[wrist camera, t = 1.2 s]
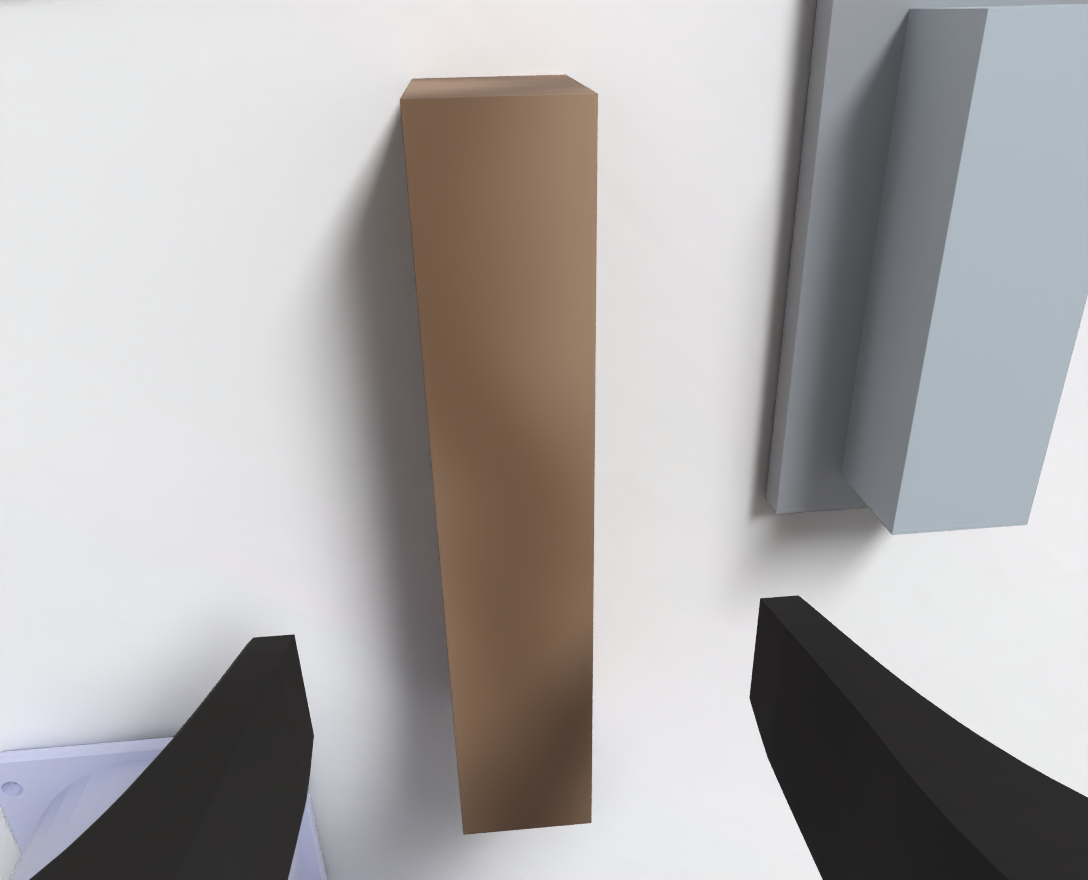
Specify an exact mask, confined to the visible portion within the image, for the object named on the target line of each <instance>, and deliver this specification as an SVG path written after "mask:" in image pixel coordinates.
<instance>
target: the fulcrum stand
mask: <svg viewBox="0 0 1088 880" xmlns="http://www.w3.org/2000/svg"><path fill="white" fill-rule="evenodd" d="M1087 295H1088V0H817V8H816V18H815V27H814V37H813V46H812V56H811V66H810V75H809V85H808V95H807V104H806V114H805V123H804V133H803V143H802V152H801V162H800V172H799V181H798V191H797V200H796V210H795V220H794V229H793V239H792V249H791V258H790V268H789V277H788V287H787V297H786V306H785V316H784V326H783V335H782V345H781V355H780V364H779V374H778V383H777V393H776V403H775V412H774V422H773V432H772V441H771V451H770V460H769V470H768V480H767V489H766V499H767V501H768V502H769V504H770V505H771V507H772V508H773V510H774V511H775V513H776V514H784V513H798V512H812V511H826V510H840V509H854V508H868V507H869V508H870V509H871V510H872V511H873V513H874V514H875V515H876V516H877V517H878V519H879V520H880V521H881V522H882V523H883V525H884V526H885V527H886V528H887V529H888V531H889V532H890V533H891V534H892V535H896V534H910V533H923V532H937V531H950V530H963V529H977V528H990V527H1004V526H1017V525H1027V523H1028V519H1029V515H1030V511H1031V508H1032V504H1033V500H1034V496H1035V493H1036V489H1037V485H1038V481H1039V477H1040V474H1041V470H1042V466H1043V462H1044V458H1045V455H1046V451H1047V447H1048V443H1049V439H1050V436H1051V432H1052V428H1053V424H1054V420H1055V417H1056V413H1057V409H1058V405H1059V402H1060V398H1061V394H1062V390H1063V386H1064V383H1065V379H1066V375H1067V371H1068V367H1069V364H1070V360H1071V356H1072V352H1073V348H1074V345H1075V341H1076V337H1077V333H1078V329H1079V326H1080V322H1081V318H1082V314H1083V310H1084V307H1085V303H1086V299H1087Z"/></svg>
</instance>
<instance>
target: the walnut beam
mask: <svg viewBox="0 0 1088 880" xmlns="http://www.w3.org/2000/svg"><path fill="white" fill-rule="evenodd" d="M400 104H401V116H402V127H403V139H404V151H405V162H406V174H407V185H408V197H409V209H410V220H411V232H412V243H413V255H414V266H415V278H416V290H417V301H418V313H419V324H420V336H421V347H422V359H423V371H424V382H425V394H426V405H427V417H428V429H429V440H430V452H431V463H432V475H433V486H434V498H435V510H436V521H437V533H438V544H439V556H440V567H441V579H442V591H443V602H444V614H445V625H446V637H447V649H448V660H449V672H450V683H451V695H452V706H453V718H454V730H455V741H456V753H457V764H458V776H459V787H460V799H461V811H462V822H463V834H464V835H465V834H476V833H487V832H498V831H508V830H519V829H530V828H541V827H552V826H563V825H574V824H585V823H591V803H592V689H593V575H594V461H595V346H596V232H597V118H598V94H597V93H596V92H594V91H592V90H591V89H589V88H587V87H586V86H584V85H582V84H580V83H579V82H577V81H575V80H574V79H572V78H570V77H569V76H567V75H537V76H499V77H461V78H423V79H412V80H411V82H410V83H409V85H408V87H407V88H406V90H405V92H404V93H403V95H402V97H401V98H400Z"/></svg>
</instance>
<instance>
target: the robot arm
mask: <svg viewBox="0 0 1088 880" xmlns="http://www.w3.org/2000/svg"><path fill="white" fill-rule="evenodd" d="M750 701H751V705H752V708H753V711H754V715H755V718H756V722H757V725H758V728H759V732H760V735H761V738H762V741H763V744H764V747H765V750H766V754H767V757H768V759H769V762H770V764H771V766H772V768H773V771H774V773H775V775H776V778H777V780H778V782H779V784H780V786H781V789H782V791H783V793H784V795H785V798H786V800H787V802H788V804H789V807H790V809H791V811H792V813H793V815H794V818H795V820H796V822H797V824H798V826H799V829H800V831H801V833H802V835H803V837H804V840H805V842H806V844H807V846H808V848H809V850H810V853H811V855H812V857H813V859H814V861H815V864H816V866H817V868H818V870H819V872H820V875H821V877H822V879H823V880H1088V797H1086V796H1084V795H1082V794H1080V793H1078V792H1076V791H1074V790H1072V789H1070V788H1069V787H1067V786H1065V785H1063V784H1061V783H1059V782H1057V781H1055V780H1053V779H1052V778H1050V777H1048V776H1046V775H1044V774H1042V773H1041V772H1039V771H1037V770H1035V769H1034V768H1032V767H1030V766H1028V765H1027V764H1025V763H1023V762H1021V761H1020V760H1018V759H1016V758H1015V757H1013V756H1012V755H1010V754H1008V753H1007V752H1005V751H1003V750H1002V749H1000V748H999V747H997V746H995V745H994V744H992V743H990V742H989V741H987V740H986V739H984V738H982V737H981V736H979V735H978V734H976V733H975V732H973V731H972V730H970V729H969V728H967V727H965V726H964V725H962V724H961V723H959V722H958V721H957V720H955V719H954V718H952V717H951V716H950V715H948V714H947V713H945V712H944V711H942V710H941V709H940V708H938V707H937V706H935V705H934V704H933V703H931V702H930V701H928V700H927V699H926V698H924V697H923V696H921V695H920V694H919V693H917V692H916V691H915V690H914V689H912V688H911V687H910V686H908V685H907V684H906V683H904V682H903V681H902V680H900V679H899V678H898V677H896V676H895V675H894V674H893V673H891V672H890V671H889V670H888V669H886V668H885V667H884V666H883V665H881V664H880V663H879V662H878V661H876V660H875V659H874V658H873V657H871V656H870V655H869V654H868V653H867V652H865V651H864V650H863V649H862V648H860V647H859V646H858V645H857V644H856V643H854V642H853V641H852V640H851V639H850V638H848V637H847V636H846V635H845V634H844V633H843V632H841V631H840V630H839V629H838V628H837V627H835V626H834V625H833V624H832V623H831V622H830V621H828V620H827V619H826V618H825V617H824V616H822V615H821V614H820V613H819V612H818V611H817V610H815V609H814V608H813V607H812V606H811V605H809V604H808V603H807V602H806V601H804V600H803V599H802V598H801V597H800V596H786V597H773V598H760V606H759V615H758V625H757V634H756V643H755V652H754V661H753V671H752V680H751V689H750ZM313 739H314V734H313V729H312V723H311V718H310V713H309V708H308V703H307V697H306V692H305V687H304V682H303V677H302V672H301V666H300V661H299V656H298V651H297V646H296V641H295V635H282V636H269V637H256V638H253V639H252V640H251V641H250V642H249V643H248V644H247V645H246V646H245V648H244V649H243V650H242V652H241V653H240V654H239V656H238V657H237V658H236V659H235V661H234V662H233V663H232V665H231V666H230V667H229V669H228V670H227V671H226V673H225V674H224V675H223V677H222V678H221V679H220V680H219V682H218V683H217V684H216V686H215V687H214V688H213V689H212V691H211V692H210V693H209V694H208V696H207V697H206V698H205V700H204V701H203V702H202V703H201V705H200V706H199V707H198V708H197V710H196V711H195V712H194V713H193V714H192V716H191V717H190V718H189V719H188V720H187V722H186V723H185V724H184V725H183V726H182V728H181V729H180V730H179V731H178V732H177V734H176V735H175V736H174V737H167V738H156V739H144V740H132V741H121V742H109V743H98V744H86V745H75V746H63V747H51V748H40V749H28V750H17V751H6V752H2V753H0V806H1V808H2V811H3V813H4V815H5V818H6V820H7V822H8V825H9V827H10V829H11V832H12V834H13V836H14V839H15V841H16V843H17V845H18V848H19V850H20V852H21V857H20V859H19V861H18V863H17V865H16V867H15V869H14V871H13V873H12V875H11V877H10V879H9V880H327V876H326V871H325V866H324V861H323V856H322V851H321V846H320V841H319V836H318V831H317V826H316V822H315V817H314V812H313V807H312V802H311V797H310V792H309V787H308V785H309V776H310V768H311V758H312V748H313ZM13 782H15V783H17V784H15V783H13Z"/></svg>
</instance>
